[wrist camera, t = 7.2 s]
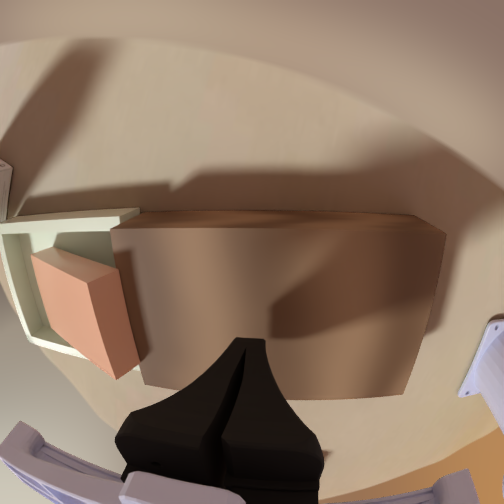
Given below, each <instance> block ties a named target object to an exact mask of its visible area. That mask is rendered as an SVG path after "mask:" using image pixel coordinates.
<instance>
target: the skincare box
mask: <svg viewBox="0 0 504 504" xmlns="http://www.w3.org/2000/svg"><path fill="white" fill-rule="evenodd" d="M12 169H13V167H11V166H10V165H9V164H7V163H6V162H4V161H2V160H1V159H0V222H3V221H5V220H6V215H7V205H8V196H9V189H10V182H11V175H12Z"/></svg>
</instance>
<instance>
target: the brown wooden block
mask: <svg viewBox="0 0 504 504" xmlns="http://www.w3.org/2000/svg"><path fill="white" fill-rule="evenodd" d="M110 235H111V241H112V248H113V254H114V260H115V266H116V269H119V274H120V279H121V285H122V290H123V294H124V299H125V304H126V308H127V313H128V317H129V321H130V326H131V330H132V334H133V337H134V341H135V345H136V349H137V352H138V356H139V360H140V364H139V367H140V370H141V374H142V377H143V380H144V383H145V385H150V386H156V387H161V388H167V389H173V390H182V389H183V388H185V387H186V386H188V385H189V384H190V383H192V382H193V381H194V380H196V379H197V378H198V377H199V376H200V375H202V374H203V373H204V372H205V371H206V370H207V369H208V368H209V367H210V366H211V365H212V364H213V363H214V362H215V361H216V360H217V359H218V358H219V357H220V356H221V355H222V353H223V352H224V351H225V350H226V349H227V347H228V346H229V345H230V343H231V342H232V341H233V339H234V338H236V337H242V338H260V339H264V340H265V341H266V354H267V358H268V362H269V365H270V368H271V371H272V374H273V376H274V378H275V381H276V383H277V385H278V387H279V389H280V391H281V393H282V394H283V396H284V398H285V399H286V400H337V399H357V398H372V397H383V396H393V395H402V394H403V393H404V390H405V388H406V385H407V383H408V380H409V377H410V375H411V372H412V369H413V366H414V364H415V361H416V358H417V355H418V352H419V349H420V346H421V343H422V339H423V336H424V333H425V330H426V326H427V323H428V319H429V315H430V312H431V308H432V304H433V300H434V296H435V291H436V287H437V282H438V278H439V273H440V268H441V263H442V257H443V251H444V245H445V239H446V234H445V233H444V232H442V231H440V230H439V229H437V228H435V227H434V226H432V225H430V224H428V223H427V222H425V221H423V220H421V219H420V218H418V217H416V216H414V215H398V214H378V213H355V212H326V211H275V210H214V211H163V212H144V213H141V214H139V215H137V216H135V217H133V218H131V219H129V220H127V221H125V222H123V223H121V224H119V225H117V226H115V227H113V228H111V229H110Z"/></svg>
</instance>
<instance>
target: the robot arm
mask: <svg viewBox="0 0 504 504" xmlns="http://www.w3.org/2000/svg"><path fill="white" fill-rule="evenodd" d="M478 393H481V395H482V396H483V398H484V400H485V401H486V403H487V405H488V407H489V408H490V410H491V412H492V414H493V415H494V417H495V419H496V421H497V423H498V425H499V427H500V428H501V430H502V432H503V434H504V319H498V320H492V321H490V322H489V323H488V325H487V327H486V330H485V332H484V335H483V338H482V340H481V343H480V345H479V348H478V350H477V353H476V355H475V357H474V360H473V362H472V364H471V367H470V369H469V371H468V373H467V375H466V377H465V379H464V382H463V384H462V386H461V388H460V390H459V392H458V396H459V397H466V396H470V395H474V394H478ZM115 443H116V446H117V448H118V450H119V451H120V453H121V455H122V456H123V458H124V459H125V461H126V463H127V466H126V468H125V470H124V472H123V474H122V475H120V474H118V473H115V472H112V471H109V470H107V469H104V468H101V467H99V466H97V465H94V464H92V463H89V462H87V461H85V460H82V459H80V458H78V457H76V456H73V455H71V454H69V453H67V452H65V451H63V450H61V449H58V448H57V447H55V446H53V445H51V444H49V443H47V442H45V440H44V438H43V437H42V435H41V434H40V433H39V432H38V431H37V430H36V429H34V428H32V427H31V426H29V425H27V424H25V423H24V422H22V421H19V422H18V423H17V425H16V426H15V427H14V428H13V430H12V431H11V432H10V433H9V435H8V436H7V437H6V438H5V440H4V441H3V442H2V444H1V445H0V459H1V460H2V462H3V463H4V464H5V465H6V466H7V467H8V468H9V469H10V470H11V471H12V472H13V473H14V474H15V475H16V476H17V477H18V478H19V479H20V480H21V481H22V482H23V483H25V484H26V485H28V486H29V487H30V488H32V489H33V490H35V491H36V492H38V493H39V494H41V495H43V496H44V497H46V498H47V499H49V500H50V501H52V502H53V503H55V504H318V491H319V479H320V477H321V474H322V471H323V469H324V457H323V453H322V450H321V447H320V444H319V442H318V439H317V437H316V435H315V434H314V433H313V432H312V431H311V430H310V429H309V428H308V427H307V426H306V425H305V424H304V423H303V422H302V421H301V420H300V418H299V417H298V416H297V415H296V414H295V412H294V411H293V409H292V408H291V407H290V405H289V404H288V403H287V401H286V399H285V398H284V396H283V394H282V393H281V391H280V389H279V387H278V385H277V383H276V381H275V378H274V376H273V374H272V371H271V368H270V365H269V362H268V358H267V354H266V341H265V340H264V339H260V338H242V337H236V338H234V339H233V341H232V342H231V343H230V345H229V346H228V347H227V349H226V350H225V351H224V352H223V353H222V355H221V356H220V357H219V358H218V359H217V360H216V361H215V362H214V363H213V364H212V365H211V366H210V367H209V368H208V369H207V370H206V371H205V372H204V373H203V374H202V375H200V376H199V377H198V378H197V379H196V380H194V381H193V382H192V383H190V384H189V385H188V386H186V387H185V388H183V389H182V390H180V391H179V392H177V393H175V394H174V395H172V396H170V397H168V398H166V399H164V400H162V401H160V402H158V403H156V404H153V405H151V406H148V407H145V408H142V409H139V410H136V411H133V412H131V413H130V414H129V416H128V417H127V418H126V419H125V421H124V423H123V424H122V426H121V428H120V430H119V431H118V433H117V435H116V437H115ZM502 489H503V497H504V476H503V487H502ZM328 504H480V502H479V499H478V496H477V493H476V490H475V486H474V483H473V481H472V478H471V475H470V472H469V470H468V469H464V470H461V471H458V472H455V473H452V474H448V475H446V476H443V477H441V478H440V479H438V480H437V481H436V482H435V484H434V485H433V486H432V487H429V488H425V489H421V490H417V491H413V492H408V493H404V494H399V495H393V496H388V497H382V498H376V499H370V500H361V501H353V502H342V503H328Z"/></svg>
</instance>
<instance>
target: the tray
mask: <svg viewBox="0 0 504 504" xmlns="http://www.w3.org/2000/svg"><path fill="white" fill-rule="evenodd" d="M139 214H140V207H138V208H118V209H101V210H85V211H72V212H59V213H47V214H36V215H26V216H16V217H13V218H10V219H8V220H5V221H3V222H0V252H1V257H2V261H3V265H4V269H5V273H6V276H7V280H8V284H9V287H10V290H11V294H12V297H13V300H14V303H15V306H16V309H17V312H18V315H19V318H20V320H21V323H22V326H23V328H24V331H25V334H26V336H27V339H28V341H29V342H30V343H33V344H36V345H39V346H42V347H46V348H49V349H52V350H55V351H59V352H62V353H66V354H69V355H73V356H77V357H80V358H84V359H87V358H86V357H85V356H84V355H82V354H81V353H80V352H79V351H77V350H76V349H75V348H74V347H73V346H71V345H70V344H69V343H68V342H67V341H65V340H64V339H63V338H62V337H61V336H60V335H59V334H57V333H56V332H55V331H54V330H53V329H52V328H51V325H50V322H49V319H48V316H47V313H46V310H45V307H44V304H43V301H42V297H41V294H40V290H39V287H38V283H37V279H36V276H35V272H34V268H33V263H32V259H31V255H30V254H33V253H36V252H38V251H41V250H44V249H47V248H50V247H56V248H59V249H61V250H64V251H67V252H70V253H72V254H75V255H78V256H81V257H84V258H87V259H89V260H92V261H95V262H98V263H101V264H104V265H107V266H110V267H113V268H116V266H115V260H114V254H113V248H112V241H111V235H110V229H111V228H113V227H115V226H117V225H119V224H121V223H123V222H125V221H127V220H129V219H131V218H133V217H135V216H137V215H139ZM88 360H89V359H88ZM133 370H138V371H141V370H140V367H139V365H137V366H136V367H134V368H133Z"/></svg>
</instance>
